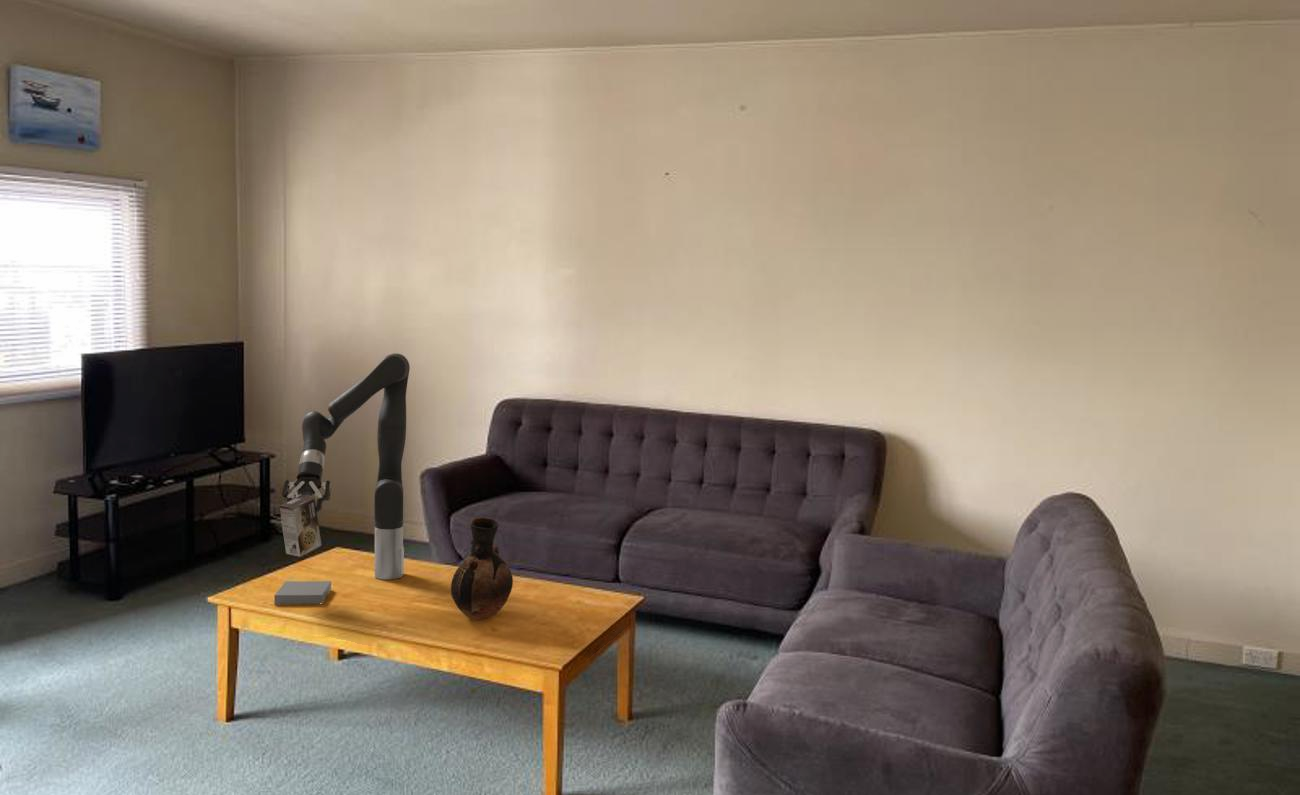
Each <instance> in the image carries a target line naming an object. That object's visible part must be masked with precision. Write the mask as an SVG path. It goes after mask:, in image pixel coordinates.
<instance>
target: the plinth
mask: <svg viewBox="0 0 1300 795" xmlns="http://www.w3.org/2000/svg"><path fill="white" fill-rule="evenodd" d="M330 590H331V591H332V581H331V580H329V581H328V580H319V581H318V580H312V581H311V580H299V581H298V580H297V581H295V580H293V581H291V580H290V581H288V580H287V581H284V582H283V584H282V585H281V586H280V588H278V590H277V592H276V593H274V595H273V596H274V597H273V598H274V605H275V604H315V605H321V604H320V603H322V602H323V601H324V599H325V598H326V599H327V597H328V596H329V594H330V593H331V591H330ZM329 592H330V593H329ZM328 593H329V594H328ZM327 595H328V596H327ZM326 596H327V597H326ZM326 599H325V600H326ZM324 602H325V601H324ZM324 602H323V603H324Z"/></svg>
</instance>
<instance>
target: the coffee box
mask: <svg viewBox="0 0 1300 795" xmlns="http://www.w3.org/2000/svg"><path fill="white" fill-rule="evenodd" d="M316 504H317V503H316V498H314V497H309V496H307V495H300V496H299V497H296V498H294V499H292V500H290V501H288V502H287V501H286V502H284V503H282V504H280V505H278V508H279V514H280V522H281V529H282V534H283V539H284V540H283V541H284V547H285V554H287V555H290V556H295V557H299V558H301V557H303V556H304V555H307V554H308V553H310V552H312V551H313V550H316V549H318V548H319V547H321V546H322V539H321V534H320V533H321V532H320V525H319V519H318V518H319V517H318V512H317V511H316Z"/></svg>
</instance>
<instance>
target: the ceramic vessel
mask: <svg viewBox="0 0 1300 795" xmlns="http://www.w3.org/2000/svg"><path fill="white" fill-rule="evenodd" d="M469 524H470V529H471V530H470V531H471V534H472V540H471V542H470V544H471V547H470V548H471V549H470V555H469V556H468V557H466V558H465V559H464V560H463V561H462V562H461V564H460V565H459V566H458V567H457V569H456V570H455V572H454V574H453V577H452V579H451V583H450V593H451V597H452V600H453V602H454V604H455V606H456V607H457V608H458V610H459V611H460V612H461V613H462V614H463V615H465V617H467V618H468V619H471V620H474V621H475V620H482V619H487V618H491V617H493V616H495V615H497V614H498V613H499V612H500V611H501V609H502V608H503V607H504V606H505V604H506V603H507V601H508V599H509V598H510V595H511V592H512V590H513V585H514V581H513V580H514V578H513V574H512V571H511V569H510V567H509V565H508V563H507V562H506V561H505V559H503V558H502V557H501V556H500V554H499V553H500V552H499V547H498V546H497V545H494V540H495V537H496V534H497V531H498V529H499V523H498V522H497V521H496V520H495V519H493V518H489V517H477V518H475V517H474V518H473V519H472V520H470V523H469Z"/></svg>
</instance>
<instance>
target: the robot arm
mask: <svg viewBox="0 0 1300 795" xmlns="http://www.w3.org/2000/svg"><path fill="white" fill-rule="evenodd" d="M410 368H411V367H410V362H409V360H408V359H407V357H405V356H404V355H403V354H402V353H401V354H400V353H397V352H395V353H391V354H387V355H386V356H384V357H382V359H381V360H380V361H379V363H378V364H377V365H375V367H374V368H373V369H372V370H371V371H370V372H369V373H368V374H367V375H366V376H365V377H364V378H362V380H360V381H359V382H357V383H356V384H354V385H353V386H352V387H350V388H349V389H347V390H346V391H344V392H343V393H342V394H340V395H339V396H338V397H337V398H335V399H334V400H332V401H331V402H330V403H329V404H328V405H327V409H328V412H329V414H330V415H331V416H330V417H329V418H328V417H326V416H324V415H323V414H322V413H321V412H319V411H316V410H313V411H309V412H308V413H307V414H306V415H305V416H304V417H303V420H302V424H301V429H302V430H301V431H302V440H303V447H302V452H301V456H300V459H299V463H298V468H297V474H296V479H295V481H290V480H289V479H286V480H285V481H284V485H283V487H282V491H281V492H282V493H281V497H282V500H283V501H286V502H288V501H290V500H292V499H294V498H296V497H299V496H308V497H309V496H315V498H317V499H316V500H317V501H316V503H315V504H316V511H317V513H319V512H320V511H321V510H322V509H323V503H324V501H329V500H331V492H332V491H331V490H332V485H331V481H330V480H326V481H323V482H322V479H323V473H324V469H325V458H326V457H325V456H326V452H327V451H326V450H327V443H326V441H325V440H328V439H330V438H331V437H332V436H334V434H335V433H336V431H337V430H338V428H339V427H340V426H341V425H342V423H344V421H345V420H346V419H347V418H348V417H350V416H351V415H352V414H354V413H355V412H357V410H359V409H360V408H361V407H362V406H363V405H364V404H366V402H368V400H369V399H371V398H372V397H373V396H375V395H376V394H377V393H378V392H380V391H381V390H383V396H382V397H383V398H382V403H381V404H380V405H381V406H380V409H379V414H378V420H377V431H376V432H377V434H376V435H377V436H376V438H377V439H376V441H377V453H378V454H377V455H378V463H379V464H378V473H377V479H376V484H375V489H374V505H373V506H374V514H373V515H374V578H376V579H378V580H397V579H402V578H403V576H404V573H405V567H404V566H405V563H404V561H405V554H404V553H405V547H404V487H403V486H404V485H403V478H402V474H403V472H402V463H403V462H402V461H403V456H404V452H405V446H406V437H407V400H406V399H407V398H406V397H407V388H408V380H409V375H410ZM293 487H294V488H293ZM322 487H323V489H324V494H323V495H322V493H321V492H320V489H322ZM292 488H293V489H292ZM290 490H291V492H290ZM289 492H290V493H289Z"/></svg>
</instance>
